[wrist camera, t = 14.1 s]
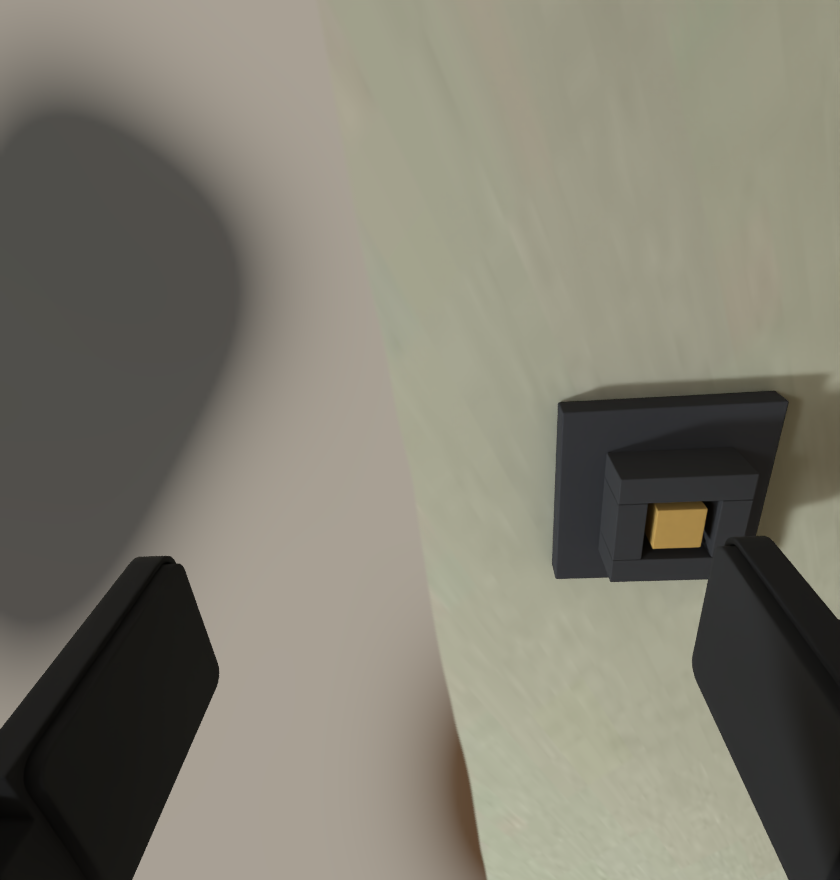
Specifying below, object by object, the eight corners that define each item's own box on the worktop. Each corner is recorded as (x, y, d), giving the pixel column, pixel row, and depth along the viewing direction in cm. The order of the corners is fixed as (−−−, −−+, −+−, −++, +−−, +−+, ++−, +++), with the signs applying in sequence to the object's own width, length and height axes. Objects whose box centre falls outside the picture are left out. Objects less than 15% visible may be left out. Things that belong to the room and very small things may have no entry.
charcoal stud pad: (557, 401, 32) (573, 437, 28) (775, 390, 31) (823, 425, 27) (551, 564, 37) (563, 613, 33) (736, 558, 36) (771, 608, 32)
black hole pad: (606, 452, 32) (620, 479, 29) (733, 446, 31) (760, 473, 28) (598, 549, 35) (610, 582, 32) (713, 545, 34) (735, 578, 32)
